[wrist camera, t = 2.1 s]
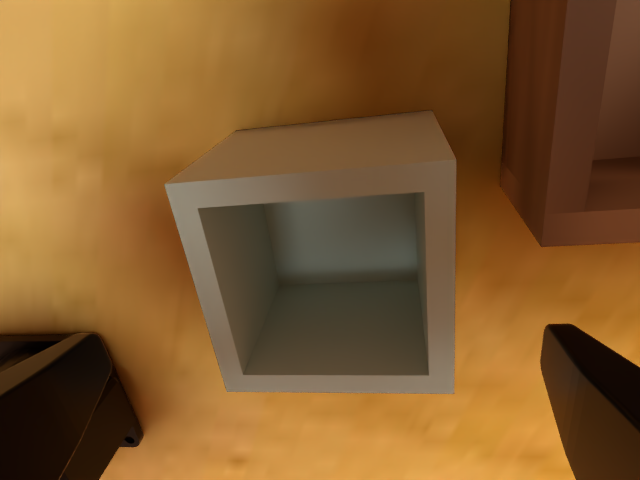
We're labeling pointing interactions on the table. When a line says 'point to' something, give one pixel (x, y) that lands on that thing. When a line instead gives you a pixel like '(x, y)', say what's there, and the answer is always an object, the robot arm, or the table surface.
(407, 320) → the small crate
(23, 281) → the table surface
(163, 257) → the table surface
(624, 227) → the big crate
